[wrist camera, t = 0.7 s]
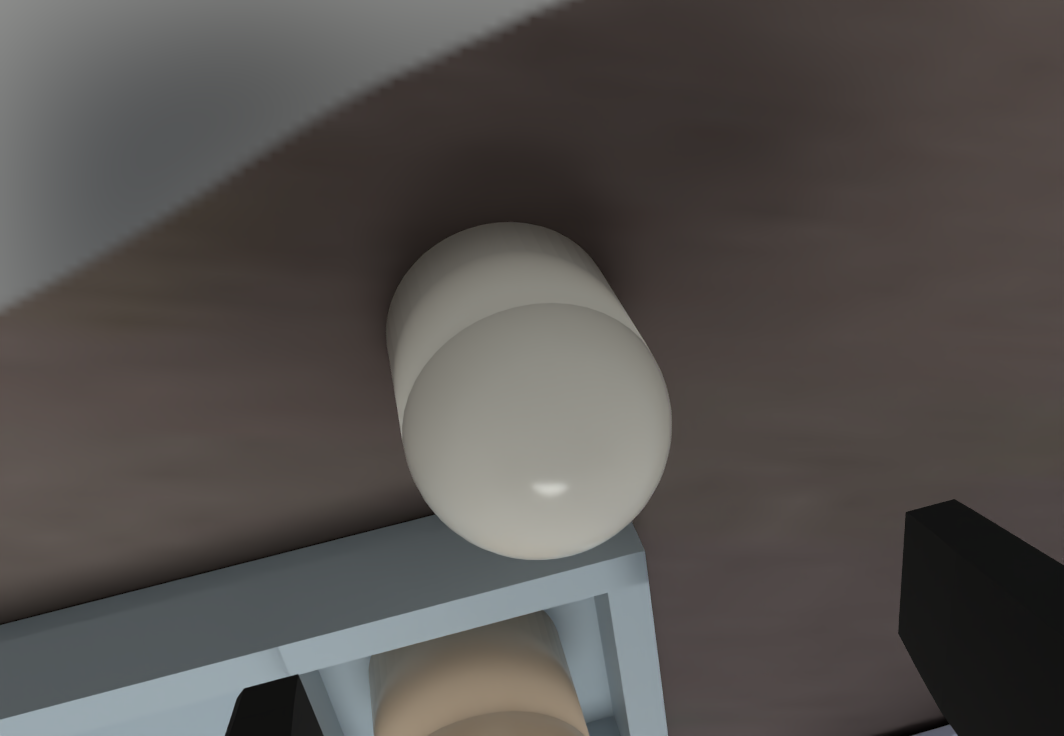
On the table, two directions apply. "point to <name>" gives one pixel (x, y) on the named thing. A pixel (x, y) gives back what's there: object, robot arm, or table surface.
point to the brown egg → (478, 684)
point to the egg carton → (327, 635)
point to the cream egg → (524, 393)
